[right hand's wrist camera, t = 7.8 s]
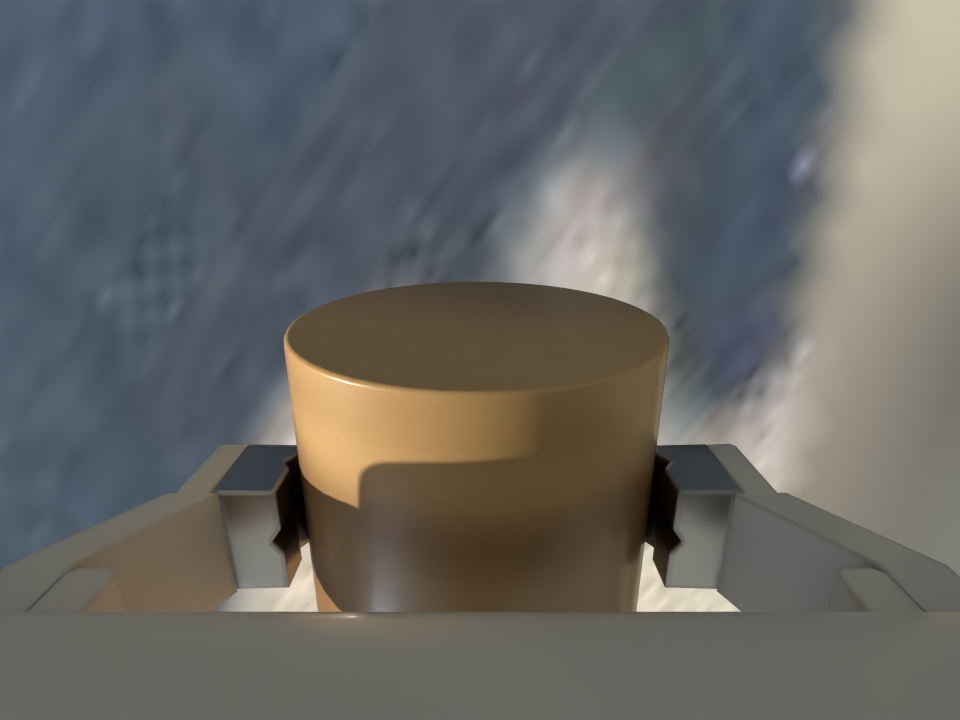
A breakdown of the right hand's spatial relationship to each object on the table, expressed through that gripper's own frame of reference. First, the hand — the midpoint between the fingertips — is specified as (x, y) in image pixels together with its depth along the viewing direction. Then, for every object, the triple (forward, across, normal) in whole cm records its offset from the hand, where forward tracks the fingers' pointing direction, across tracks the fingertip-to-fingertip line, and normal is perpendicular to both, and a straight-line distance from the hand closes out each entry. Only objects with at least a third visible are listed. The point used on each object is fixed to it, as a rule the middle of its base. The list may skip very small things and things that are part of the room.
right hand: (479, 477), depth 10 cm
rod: (+3, 0, -10) cm, 10 cm away
